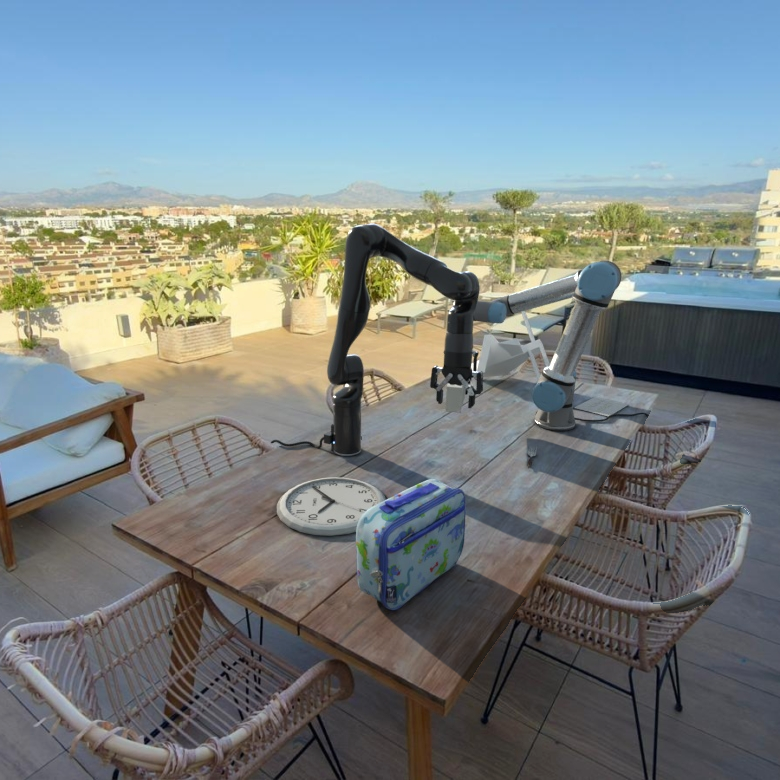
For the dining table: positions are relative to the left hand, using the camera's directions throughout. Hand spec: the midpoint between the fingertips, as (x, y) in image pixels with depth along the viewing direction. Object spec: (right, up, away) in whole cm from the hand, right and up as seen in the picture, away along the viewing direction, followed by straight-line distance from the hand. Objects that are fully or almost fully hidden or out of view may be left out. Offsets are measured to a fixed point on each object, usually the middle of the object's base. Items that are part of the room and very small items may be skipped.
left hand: (455, 405), depth 145 cm
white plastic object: (+40, +7, +110) cm, 117 cm away
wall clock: (-34, -27, -2) cm, 43 cm away
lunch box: (-13, -37, -32) cm, 51 cm away
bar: (+7, 0, +54) cm, 54 cm away
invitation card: (+73, -3, +81) cm, 110 cm away
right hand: (+9, +3, +62) cm, 63 cm away
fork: (+28, -19, +28) cm, 44 cm away
